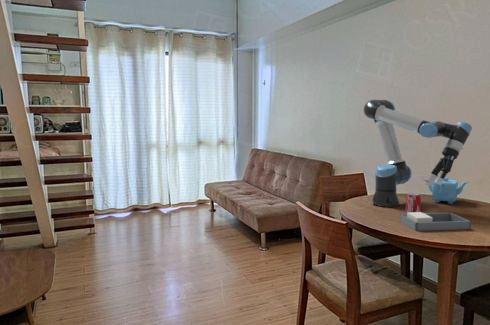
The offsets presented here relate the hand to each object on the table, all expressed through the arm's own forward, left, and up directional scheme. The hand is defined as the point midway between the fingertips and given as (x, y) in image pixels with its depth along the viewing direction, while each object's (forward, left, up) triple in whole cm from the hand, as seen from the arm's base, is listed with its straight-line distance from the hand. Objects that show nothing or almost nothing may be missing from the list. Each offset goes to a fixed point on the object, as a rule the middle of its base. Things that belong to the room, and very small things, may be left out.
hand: (433, 184), depth 188 cm
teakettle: (-6, +33, -16) cm, 37 cm away
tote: (+10, -24, -16) cm, 30 cm away
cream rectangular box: (+6, -29, -15) cm, 33 cm away
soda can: (-5, -12, -16) cm, 21 cm away
